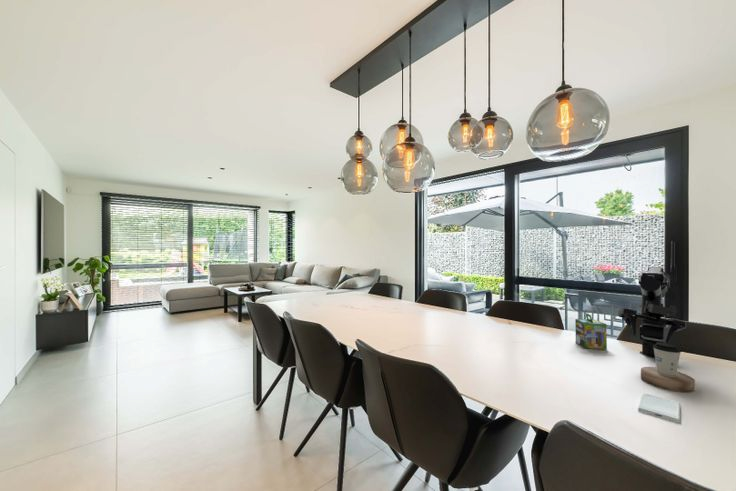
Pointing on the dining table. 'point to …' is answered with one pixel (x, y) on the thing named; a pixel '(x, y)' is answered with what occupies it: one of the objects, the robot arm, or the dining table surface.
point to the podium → (668, 380)
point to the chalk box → (591, 333)
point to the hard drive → (660, 407)
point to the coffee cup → (666, 358)
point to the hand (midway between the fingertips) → (649, 340)
